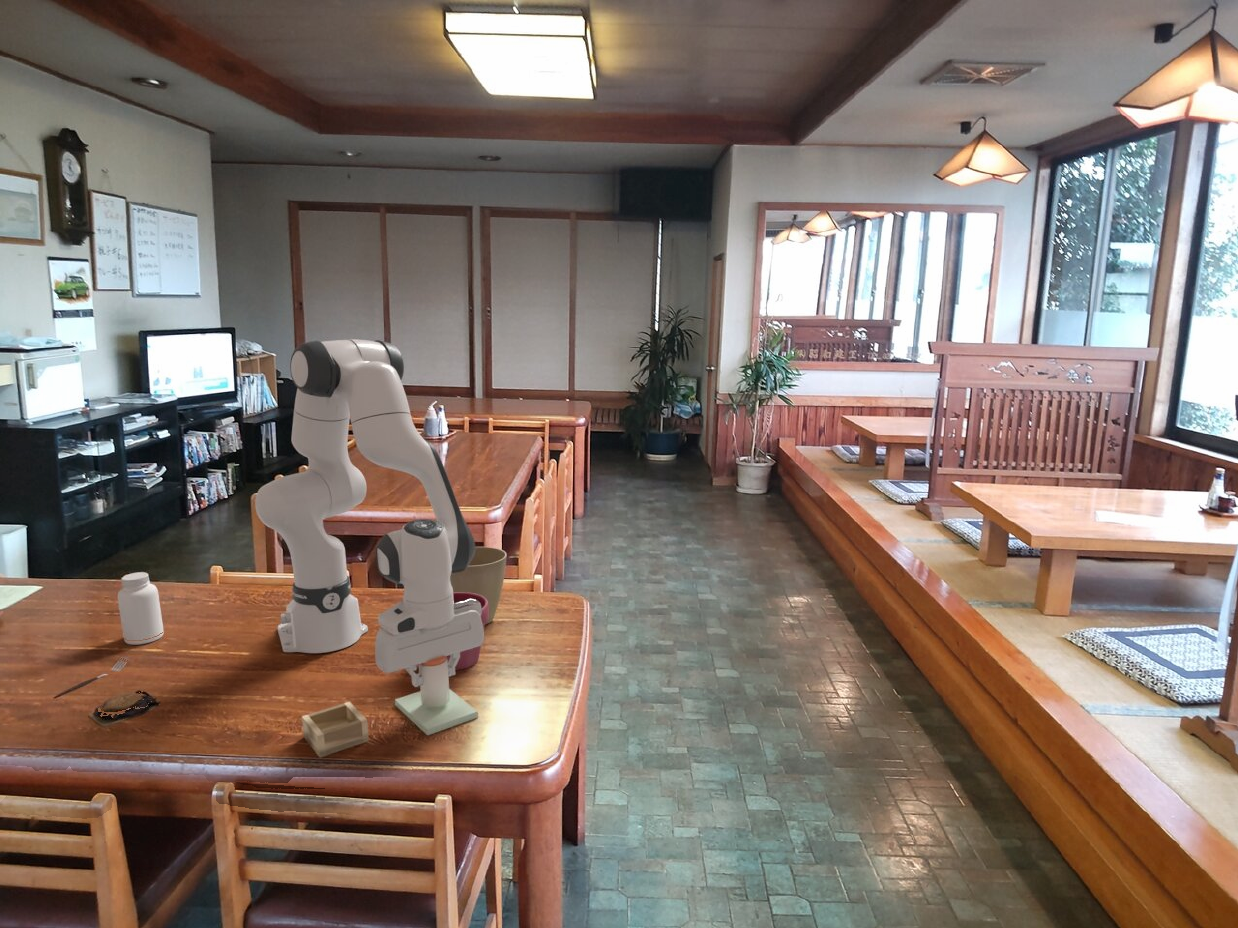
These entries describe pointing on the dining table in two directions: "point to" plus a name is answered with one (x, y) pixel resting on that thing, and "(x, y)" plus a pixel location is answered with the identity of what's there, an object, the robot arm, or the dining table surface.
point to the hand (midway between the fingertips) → (433, 679)
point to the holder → (335, 729)
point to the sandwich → (123, 707)
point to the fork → (91, 679)
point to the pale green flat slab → (436, 712)
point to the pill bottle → (139, 609)
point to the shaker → (434, 682)
